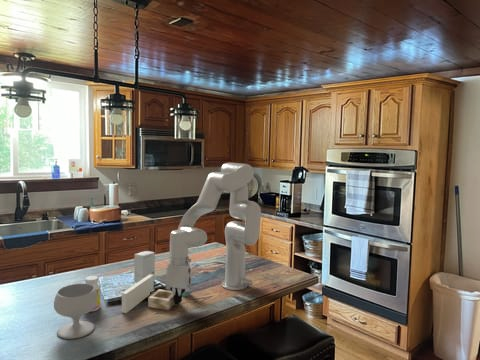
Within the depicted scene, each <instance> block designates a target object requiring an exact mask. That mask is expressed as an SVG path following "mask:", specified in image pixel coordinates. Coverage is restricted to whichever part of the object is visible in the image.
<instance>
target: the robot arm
mask: <svg viewBox="0 0 480 360" xmlns="http://www.w3.org/2000/svg"><path fill="white" fill-rule="evenodd" d="M254 174H255V172H254V167H252V166H251V165H250V164H249V163H239V162H238V163H237V162H225V163H223V164H222V165H221V167H220V171H212V172H210V173H209V174H208V175H207V177H206V179H205V181H204V185H203V186H202V188H201V189H202V190H201V192H200V194H199V197H198V199H197V201H196V203H195V204H193V205H192V206H191V207H190V208H188V210H187V211H186V212H185V213H184V215H182V218H181V219H180V221H179V224H178V227H177V229H175V230H174V229H173V230H172V231H171V232H170V233H169V261H168V263H167V266H166V272H165V288H166V289H167V290H169V291H172V293H173V295H174V305H177V306H179V304H181V302H182V300H183V296H182V293H184V292H188V291H191V289H192V288H191V285H192V282H193V281H192V279H193V278H192V266H191V264H190V263H191V262H192V259H191V258H189V248H199V247H202V246H203V245H205V244H206V243H207V240H208V235H207V232H206V231H205V230H203V229H202V228H198V227H194V225H195V223H196V222H197V221H198V219H199V218H200V217H202V216H203V215H207V214H208V213H211V212H213V211H215V210H216V208H217V205H218V203H219V201H220V199H221V195H222V193H227V194H229V193H230V194H229V195H230V196H229V206H228V207H229V215H230V216H231V217H232V218H233V219H236V220H232V221H228V222H227V224H226V225H225V226H224V227H225V228H224V238H225V266H224V269H225V270H224V271H225V272H224V279H223V280H222V281H221V286H222V287H223V288H224V289H226V290H230V291H241V290H244V289H246V288H247V287H248V285H249V286H253V285H254V281H253V280H252V278H251V279H250V278H247V275H245V274H246V253H247V252H246V246H245V245H247V246H254V245H255V244H256V243H257V242H258V240H259V237H260V231H261V230H260V229H261V219H262V218H261V217H262V211H261V207H260V205H259V203H257V202H255V201H253V200H249V186H248V184H249V183H250V182H251V181H252V180H253V177H254ZM238 220H240V221H238ZM243 221H244V222H243Z"/></svg>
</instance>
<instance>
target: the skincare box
mask: <svg viewBox="0 0 480 360" xmlns="http://www.w3.org/2000/svg"><path fill="white" fill-rule="evenodd" d="M155 255H156V252H154V251H151V250H150V251H149V250H144V251H140V252H138V253H134V266H133V267H134V269H133V271H134V272H133V274H134V275H133V276H134V277H133V281H134V282H139V281H140V280H142V279H143V278H145V277H146V276H148V275H149V274H152V275H154V276H155V272H156V271H155V266H156V264H155V263H156V256H155ZM134 282H133V283H134Z"/></svg>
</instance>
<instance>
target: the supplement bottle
mask: <svg viewBox="0 0 480 360" xmlns="http://www.w3.org/2000/svg"><path fill="white" fill-rule="evenodd" d="M84 281H85V283H84V284H89V285H92V286H93V287H94V289H95V290H96V293H97V298H98V300H97V304H96V306H95V307H94V308H93V310H91V311H90V312H96V311H98V310H99V309H100V308H101V283H100V282H99V277H98V276H97V275H90V276H89V275H88V276H87V277H85V279H84ZM90 312H89V313H90Z"/></svg>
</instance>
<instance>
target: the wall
mask: <svg viewBox="0 0 480 360" xmlns="http://www.w3.org/2000/svg"><path fill="white" fill-rule="evenodd" d="M154 282H155V274H154V275H152V274H149V275H148V276H146V277H145V278H143V279H142V280H140V281H139V282H137V283H136V284H133V285H132V286H130V287H129V288H127V289H125V290H124V291H123V292H121V313H123V314H127V313H128V312H130V311H131V310H133V308H135V307H136V306H138V304H140V303H141V302H143V300H145V299H146V298H148V297H150V296H151V294H150V292H151V291H152V290H153V291H154Z"/></svg>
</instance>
